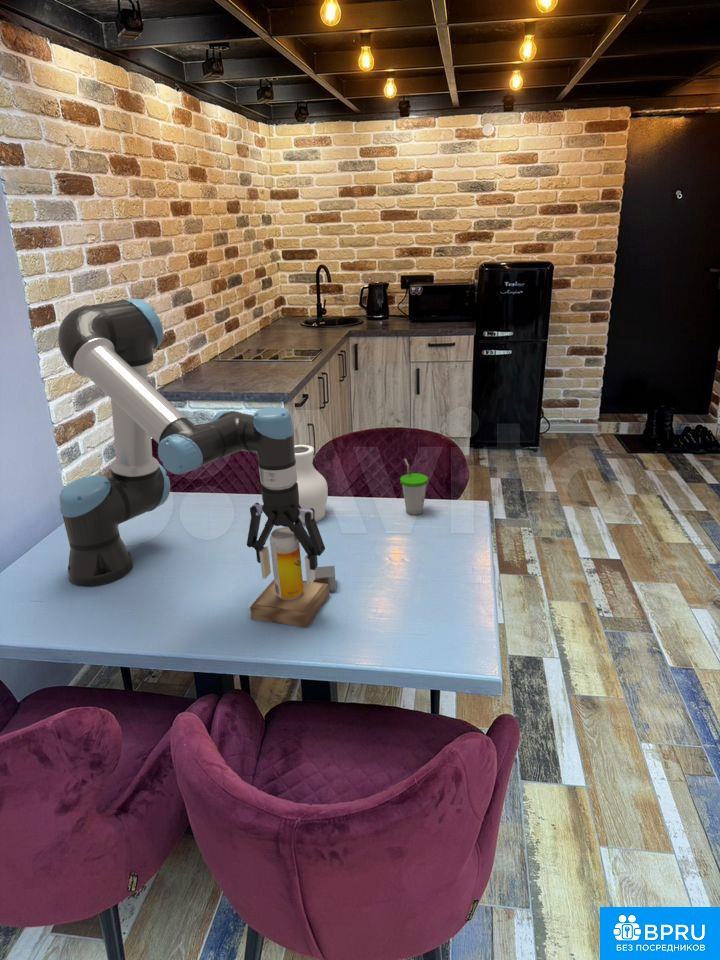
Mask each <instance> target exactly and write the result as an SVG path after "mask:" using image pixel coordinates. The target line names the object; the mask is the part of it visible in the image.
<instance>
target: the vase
mask: <svg viewBox="0 0 720 960" xmlns="http://www.w3.org/2000/svg"><path fill="white" fill-rule="evenodd" d="M294 449H295V459H296V470H297V481H296V482H297V483H298V492H299V505H300V507H301V509H307V510H309V509H310V508H313V509H314V511H315V521H316V523H317V522H320V521H321V520H323V519H324V518H325V517H326V508H327V507H326V506H327V502H328V494H329V490H328V482H327V480H326V479H325V477H324V476H323V474H321V473H320V472H319V471H318V469H316V468H315V466H314V464H313V459H314V455H315V448H314V447H313V446H311V445H309V444H294ZM299 518H300V520H301V522H302V525H305V520H303V517H302V516H301V515H299ZM293 524H295V522H294V523H293Z"/></svg>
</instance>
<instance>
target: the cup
mask: <svg viewBox="0 0 720 960" xmlns="http://www.w3.org/2000/svg"><path fill="white" fill-rule="evenodd" d="M403 461H404V462H405V464H406V467H407V468H406V469H407V473H405V474H403V475H402V476H400V479H399V483H400V485H401V489H402V493H403V498H404V499H403V500H404V505H405V510H406V513H407V514H408V515H410V516H416V517H417V516H420V515H422V514H423V512H424V506H425V498H426V497H425V496H426V492H427V491H426V490H427V484H428V483H429V477H428V476H427V475H425V474H422V473H415V472H414V473H412V472H411V473H410V464H409V462H408V460H407V458H404V459H403Z"/></svg>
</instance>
